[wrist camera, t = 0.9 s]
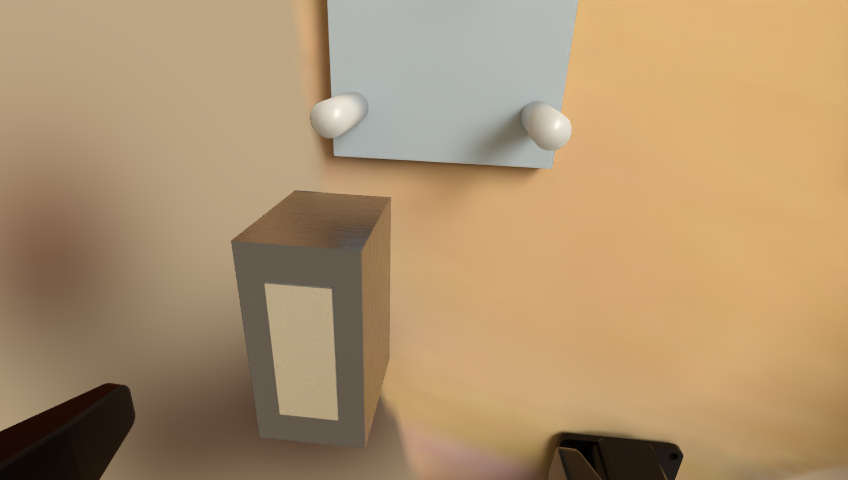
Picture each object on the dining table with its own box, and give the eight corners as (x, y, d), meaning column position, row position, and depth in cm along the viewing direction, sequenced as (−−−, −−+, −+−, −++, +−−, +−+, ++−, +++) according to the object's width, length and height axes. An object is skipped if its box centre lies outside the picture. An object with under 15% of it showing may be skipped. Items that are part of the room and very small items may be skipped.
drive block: (389, 357, 24) (364, 450, 18) (308, 349, 24) (258, 439, 18) (391, 196, 20) (360, 252, 15) (295, 190, 21) (229, 242, 15)
